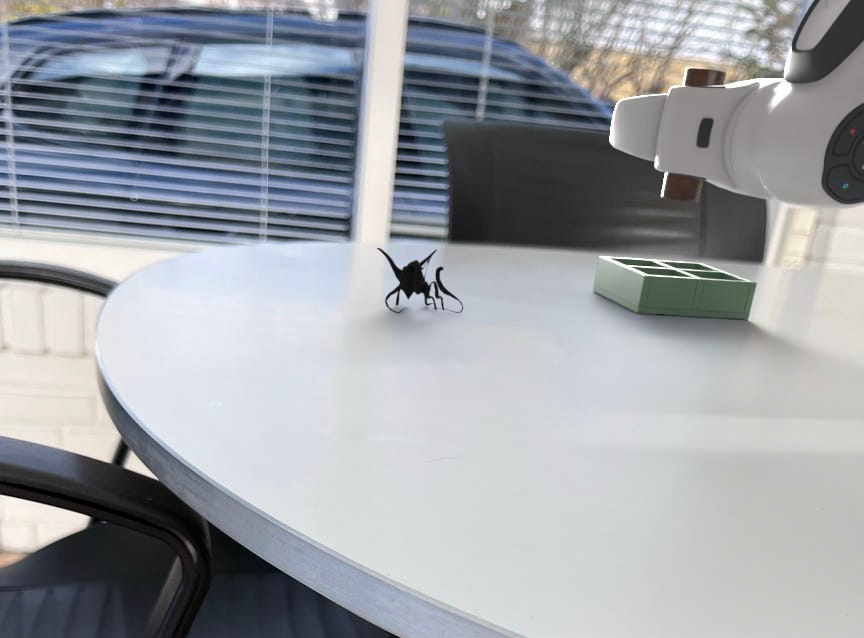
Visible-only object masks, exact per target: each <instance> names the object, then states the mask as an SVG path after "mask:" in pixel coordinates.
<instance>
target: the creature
mask: <svg viewBox="0 0 864 638" xmlns="http://www.w3.org/2000/svg"><path fill="white" fill-rule="evenodd" d="M376 250H378V251H379V252H380V253H382V255H383V256H384V257H385V259H386V260H387V261H388V263H389V265H390V267H391V269H392V271H393V274H394V276H395V278H396V279H397V281H398V282H399V284H398V285H397V286H396V287H395V288H394V289H392V290H391V291H390V292H388V294H387V295H386V296H385V299H384V303H385V306H386V307H387V309H388V310H390V311H391V312H393V313H395V314H400V313H402V312H403V311H404V310H409V309H412V308H411V307H405V306H402V305H400V294H401V291H402V292H403V293H404V295H405V298H406V299H407V300H409V299H410V298H411V297H412V295H413V294H414V293H415V295H417V296H418V295H421V294H423V296H424V297H423V298H424V299H423V300H424V304H425V306H431V305H433V308H432V309H434V311H436V312H437V311H438V310H437V309H439V310H442V311H443V312H444V311H445V310H446V311H449V312H451V313H455V314H460V313H462V312H463V310H464V305H463V303H462V301H461V300H460V298H458V297H457V296H456V295H454V294H453V293H452V292H450V291H449V290H448V289H447V288H446V287H445V286H444V284H443V282H442V280H441V271H444V269H445V268H444V267H443V266H438V267H437V268H436V269H435V274H434V275H435V281H434V280H433V281H431V282H430V283H428V281H426V274H427V271H428V267H429V263H430V261H431V259H432V257H433V256H434V255H435V253H436V252H437V250H438V249H435V250H433V252H431V253H430V254H429V255H428V256H426V257H425V258H424V259H422V260H421V261H419V260H418V259H415V260H412V261H410V262H408V264H407V265H404V266H403V267H402V269H401V268H399V267H398V266H397V265H396V263H395V261H394V260H393V258H392V257H391V256H390V255H389V253H387V251H384V250H383V249H382V248H380V247H377V248H376ZM426 265H427V267H426ZM425 267H426V271H425V273H424V274H423V270H424V269H425ZM432 284H433V288H434V296H435V297H433V296H432V295H430V294H431V291H432V290H431V288H432ZM439 290H440V292H441V293H442V294H444V295H446V296H449V297H450V298H452V299H454V300H456V301H458V302H459V303H460V305H461V310H460V311H454V310H451V309H447V308H445V306H444V298H443V296H441V295H440V294H439ZM394 294H396V299H395V306H397V307H398V306H400V307H401V308H402V309H400V310H399V311H397V310H394V309H393V308H391V307H390V306H389V304H388V300H389V299H390V298H391V296H393V295H394ZM429 299H432V301H433V303H432V302H430V303H428V300H429ZM436 300H440V304H441V307H437V304H436Z"/></svg>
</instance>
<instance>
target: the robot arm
mask: <svg viewBox="0 0 864 638" xmlns="http://www.w3.org/2000/svg"><path fill="white" fill-rule="evenodd" d="M783 71H784V72H783V78H774V77H773V78H771V77H770V78H769V77H768V78H766V77H764V78H763V77H761V78H753V79H749V80H741V81H736V82H732V83H727V84H724V85H723V86H721V85H716V86H688V85H685V86H683V85H673V86H670V88H669V90H668V92H667V93H662V94H661V93H660V94H648V95H647V94H646V95H640V96H631V97H627V98H625V97H624V98H622V99H620V100H618V102H617V103H616V105H615V107H614V109H613V110H614V111H613V114H612V119H611V126H610V133H609V134H610V135H609V143H610V145H611V146H612V148H614V149H616V150H618V151H621V152H623V153H626V154H628V155H631V156H634V157H637V158H640V159H643V160H647V161H651V162H654V169H655V170H657V172H663V173H666V172H668V173H670V174H676V175H683V176H690V177H693V178H697V179H701V180H703V181H705V182H707V183H709V184H712V185H713V186H716V187H717V188H720V189H723V190H727V191H729V192H732V193H734V194H739V195H742V196H743V195H744V196H748V197H754V198H758V199H762V200H770V201H774V200H775V201H776V200H777V201H779V202H782V203H784V204H786V205H790V206H794V207H801V208H807V209H815V210H826V211H833V210H835V211H838V210H839V211H841V210H850V209H855V208H858V207H861V206H864V0H813V1H812V3H811V4H810V6H809V7H808V9H807V10H806V12H805V14H804V15H803V17H802V19H801V21H800V22H799V24H798V27H797V29H796V31H795V34H794V36H793V38H792V41H791V45H790V48H789V52H788V54H787V58H786V62H785V64H784V70H783Z"/></svg>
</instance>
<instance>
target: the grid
mask: <svg viewBox="0 0 864 638" xmlns="http://www.w3.org/2000/svg"><path fill="white" fill-rule="evenodd" d="M757 284H758V283H757V282H755V281H754V280H750V279H747V278H744V277H742V276H739V275H737V274H734V273H731V272H729V271H725V270H724V269H723V270H722V269H720V268H717V267H714V266H711V265H709V264H706V263H703V262H694V261H693V262H692V261H677V260H663V259H661V260H660V259H646V258H634V257H633V258H632V257H619V256H604V255H599V256H598V259H597V266H596V271H595V277H594V283H593V289H592V291H593V292H594V293H596V294H598V295H600V296H602V297H605V298H606V299H608V300H610V301H612V302H614V303H616V304H618V305H620V306H622V307H624V308H625V309H628V310H630V311H631V312H634V313H636V314H640V315H656V314H664V315H663V316H674V315H676V316H677V315H678V316H677V317H693V316H694V317H695V318H709V317H710V318H713V319H728V320H729V319H730V320H746V321H747V320H748V321H749V318H750V313H751V308H752V305H753V300H754V297H755V293H756V288H757ZM665 314H666V315H665Z"/></svg>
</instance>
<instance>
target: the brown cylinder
mask: <svg viewBox="0 0 864 638" xmlns="http://www.w3.org/2000/svg"><path fill="white" fill-rule="evenodd" d="M726 75H727V72H726V71H725V70H719V69H712V68H711V69H709V68H698V67H686V68H685V72H684V76H683V81H682V86H685V85H688V86H716V85H721V86H723V85H725V80H726ZM703 183H704V180H701V179H697V178H693V177H690V176H683V175H676V174H670V173H668V172H664V177H663V183H662V189H661V194H660V198H663V199H667V200H674V201H682V202H694V203H697V202H700V196H701V191H702V187H703Z"/></svg>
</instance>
